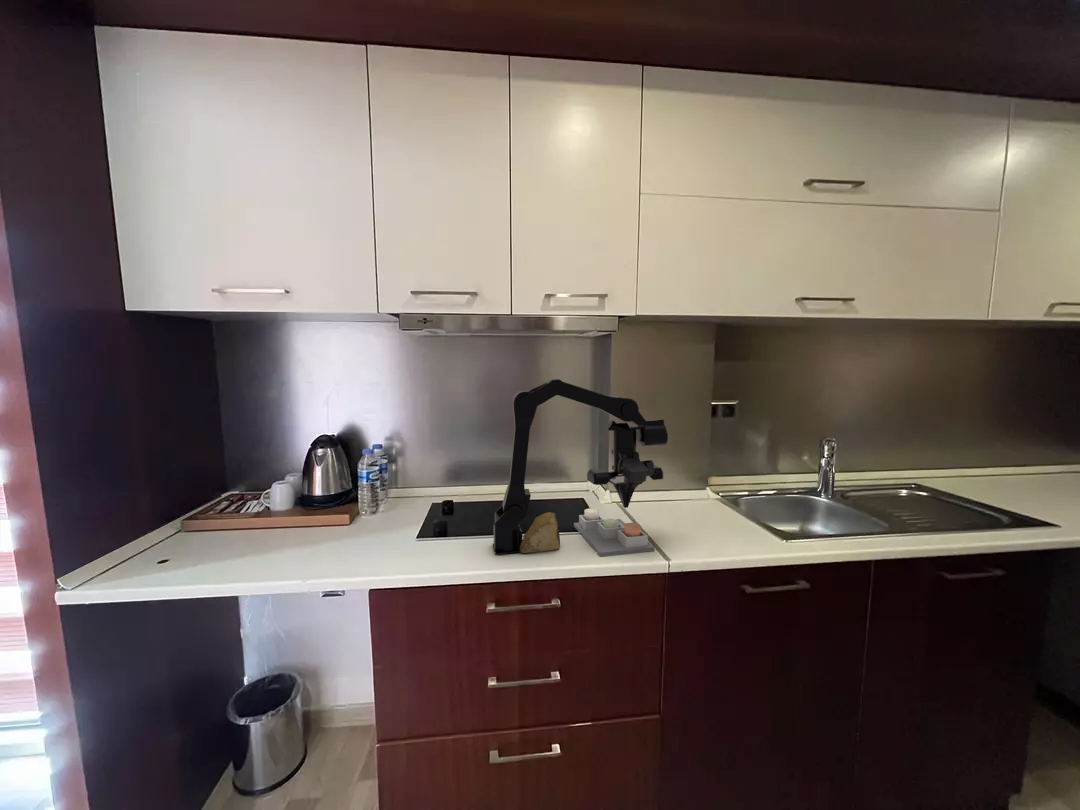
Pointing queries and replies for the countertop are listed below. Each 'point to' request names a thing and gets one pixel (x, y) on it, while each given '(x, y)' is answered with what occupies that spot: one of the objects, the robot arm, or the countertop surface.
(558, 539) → the rock
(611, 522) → the sage button
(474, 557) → the countertop surface
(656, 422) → the robot arm
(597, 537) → the panel
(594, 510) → the cream button
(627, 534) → the terracotta button
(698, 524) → the countertop surface
